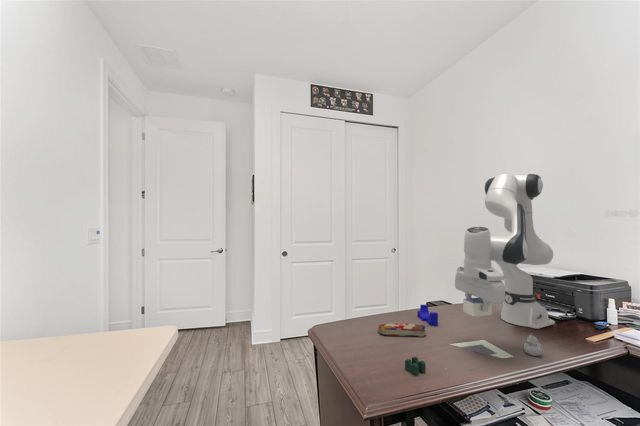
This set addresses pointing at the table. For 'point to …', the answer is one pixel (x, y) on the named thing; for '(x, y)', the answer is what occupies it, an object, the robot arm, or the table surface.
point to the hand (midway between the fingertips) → (477, 308)
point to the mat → (483, 348)
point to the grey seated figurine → (533, 346)
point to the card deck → (475, 307)
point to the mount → (415, 366)
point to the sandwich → (402, 329)
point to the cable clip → (425, 316)
